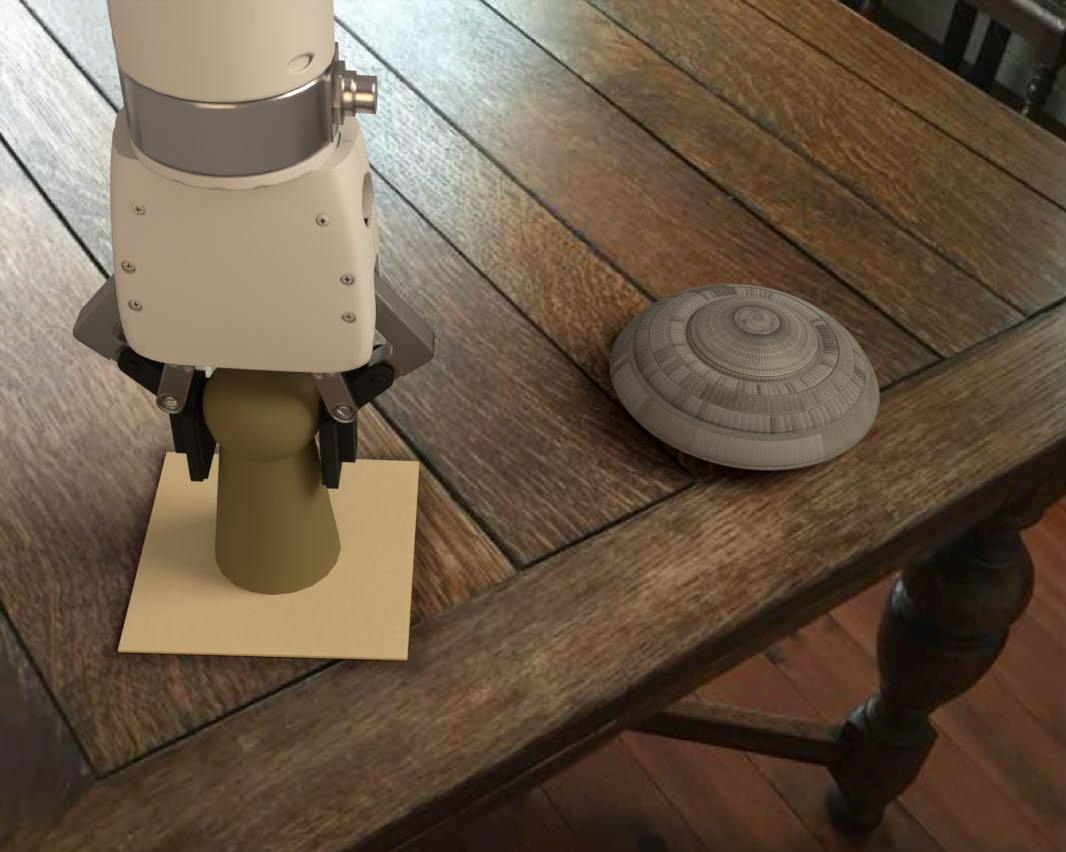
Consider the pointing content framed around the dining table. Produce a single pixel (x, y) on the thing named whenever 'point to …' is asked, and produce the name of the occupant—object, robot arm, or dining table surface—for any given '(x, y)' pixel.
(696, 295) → the flying saucer
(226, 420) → the brown peg doll
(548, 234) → the dining table surface
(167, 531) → the felt square
